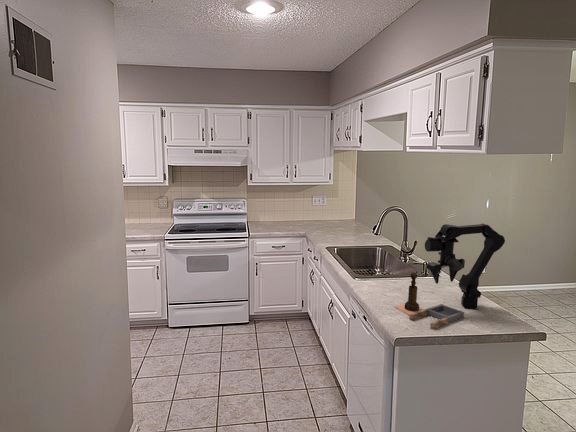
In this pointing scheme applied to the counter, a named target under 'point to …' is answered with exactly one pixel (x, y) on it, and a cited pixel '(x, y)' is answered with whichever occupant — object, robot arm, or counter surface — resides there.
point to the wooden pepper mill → (412, 295)
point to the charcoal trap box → (444, 312)
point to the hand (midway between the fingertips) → (444, 282)
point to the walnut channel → (424, 313)
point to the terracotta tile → (402, 308)
